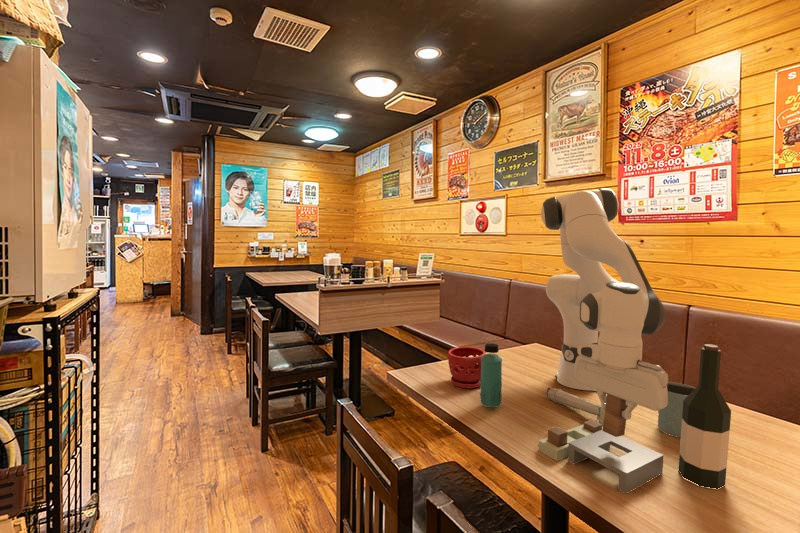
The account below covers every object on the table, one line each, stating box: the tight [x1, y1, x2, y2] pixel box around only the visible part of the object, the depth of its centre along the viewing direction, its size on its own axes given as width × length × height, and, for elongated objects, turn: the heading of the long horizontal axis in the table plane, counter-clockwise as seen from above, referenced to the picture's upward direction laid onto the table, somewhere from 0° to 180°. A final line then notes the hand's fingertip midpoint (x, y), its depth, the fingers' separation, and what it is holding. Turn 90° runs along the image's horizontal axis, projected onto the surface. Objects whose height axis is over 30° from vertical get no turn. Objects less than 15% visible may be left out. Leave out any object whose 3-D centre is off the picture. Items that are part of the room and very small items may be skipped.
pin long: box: [603, 393, 628, 437], centre depth 92 cm, size 3×3×9 cm
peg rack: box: [538, 423, 603, 462], centre depth 103 cm, size 21×5×2 cm, turn 120°
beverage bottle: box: [479, 342, 503, 408], centre depth 124 cm, size 6×7×20 cm
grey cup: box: [657, 381, 696, 438], centre depth 111 cm, size 10×10×12 cm
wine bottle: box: [678, 343, 732, 490], centre depth 88 cm, size 8×8×30 cm
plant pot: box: [447, 346, 486, 390], centre depth 144 cm, size 13×13×12 cm
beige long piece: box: [545, 387, 605, 426], centre depth 121 cm, size 5×7×25 cm
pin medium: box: [547, 426, 568, 448], centre depth 100 cm, size 3×3×6 cm
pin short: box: [583, 419, 602, 433], centre depth 107 cm, size 3×3×4 cm
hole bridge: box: [567, 430, 664, 494], centre depth 93 cm, size 14×14×4 cm
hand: (615, 414), depth 92 cm, fingers closed on pin long, 3 cm apart
